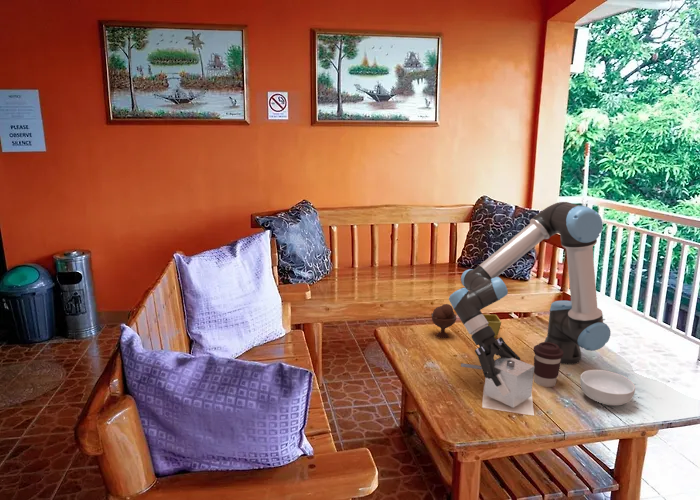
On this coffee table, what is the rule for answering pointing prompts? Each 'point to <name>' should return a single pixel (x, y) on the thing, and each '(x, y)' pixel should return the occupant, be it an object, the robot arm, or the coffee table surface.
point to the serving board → (521, 408)
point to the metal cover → (511, 381)
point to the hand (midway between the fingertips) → (516, 388)
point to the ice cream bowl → (443, 319)
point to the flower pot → (493, 323)
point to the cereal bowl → (607, 387)
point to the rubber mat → (471, 366)
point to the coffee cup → (547, 363)
